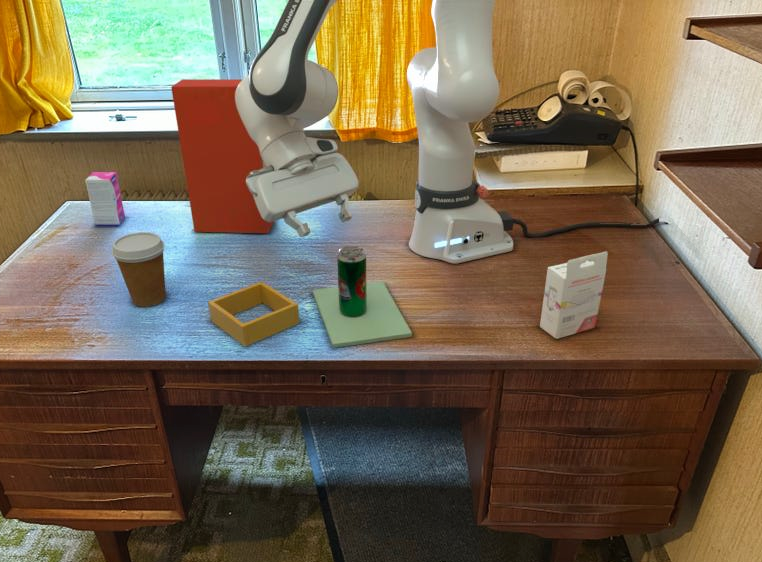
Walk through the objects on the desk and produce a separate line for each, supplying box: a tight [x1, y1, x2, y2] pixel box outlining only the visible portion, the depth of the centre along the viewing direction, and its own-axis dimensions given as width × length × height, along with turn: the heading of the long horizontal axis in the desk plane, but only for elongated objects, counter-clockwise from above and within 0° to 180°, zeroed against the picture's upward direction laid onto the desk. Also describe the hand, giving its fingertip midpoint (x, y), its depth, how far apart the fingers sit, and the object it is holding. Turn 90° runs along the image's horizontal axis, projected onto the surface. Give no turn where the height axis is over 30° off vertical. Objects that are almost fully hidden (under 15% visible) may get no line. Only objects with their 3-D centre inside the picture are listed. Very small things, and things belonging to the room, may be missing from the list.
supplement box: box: [84, 171, 126, 228], centre depth 160 cm, size 6×6×12 cm
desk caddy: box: [207, 281, 301, 348], centre depth 121 cm, size 12×12×4 cm
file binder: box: [170, 78, 276, 234], centre depth 150 cm, size 8×17×32 cm, turn 84°
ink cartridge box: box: [539, 251, 609, 340], centre depth 114 cm, size 9×5×15 cm, turn 114°
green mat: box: [312, 280, 413, 349], centre depth 124 cm, size 14×20×1 cm
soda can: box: [336, 245, 368, 317], centre depth 120 cm, size 5×5×12 cm
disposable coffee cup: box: [110, 231, 167, 308], centre depth 127 cm, size 10×10×12 cm
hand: (327, 227), depth 120 cm, fingers open, 8 cm apart
